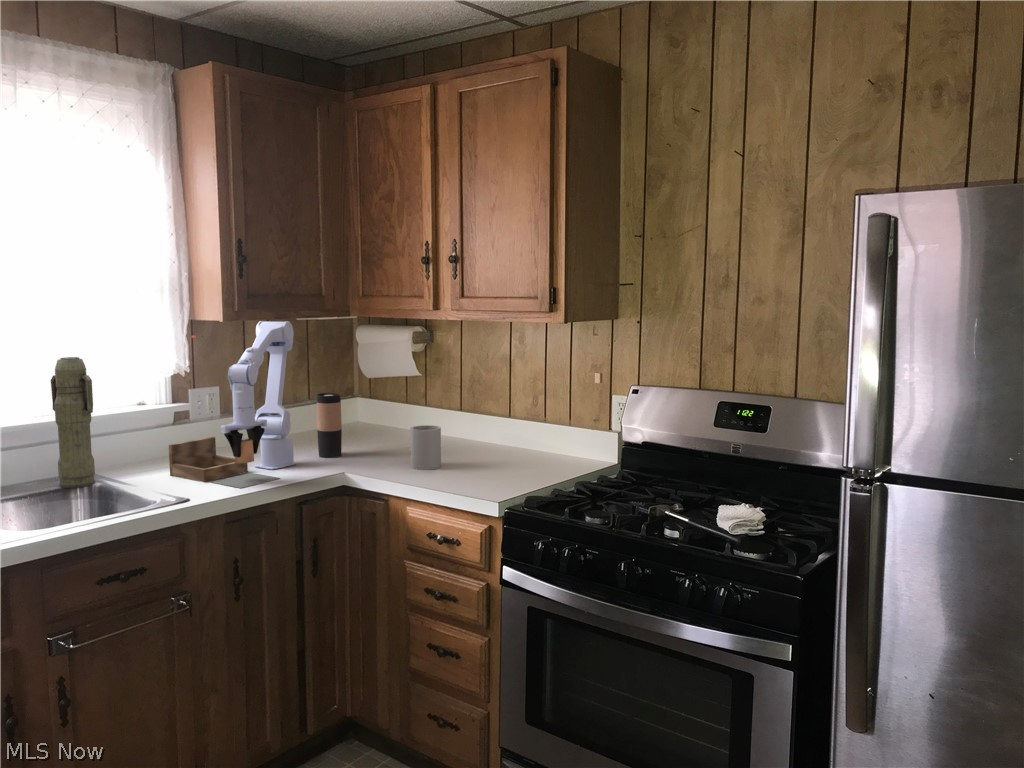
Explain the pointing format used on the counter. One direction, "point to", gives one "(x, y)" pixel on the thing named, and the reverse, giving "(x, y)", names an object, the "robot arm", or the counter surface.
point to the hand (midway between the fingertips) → (245, 455)
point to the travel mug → (329, 425)
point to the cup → (425, 447)
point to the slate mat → (246, 480)
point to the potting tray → (201, 461)
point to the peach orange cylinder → (246, 451)
